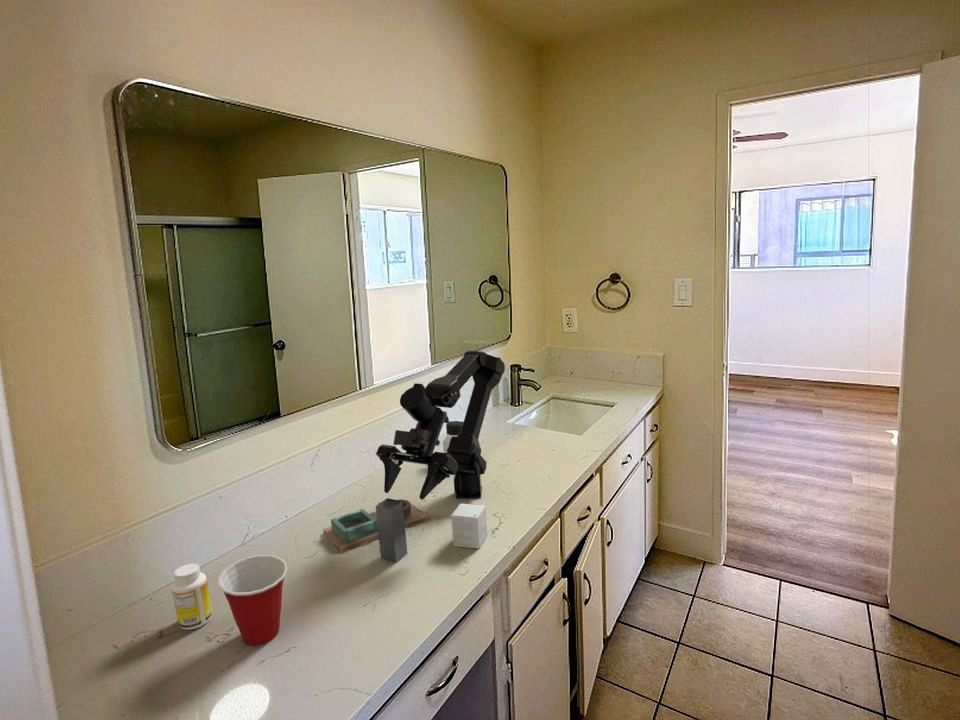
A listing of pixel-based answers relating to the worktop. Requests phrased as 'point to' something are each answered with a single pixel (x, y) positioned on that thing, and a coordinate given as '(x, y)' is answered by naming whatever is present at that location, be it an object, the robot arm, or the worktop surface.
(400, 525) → the square bit
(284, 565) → the plastic cup
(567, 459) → the worktop surface
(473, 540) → the product box
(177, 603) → the supplement bottle
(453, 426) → the medicine bottle
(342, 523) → the bit holder
